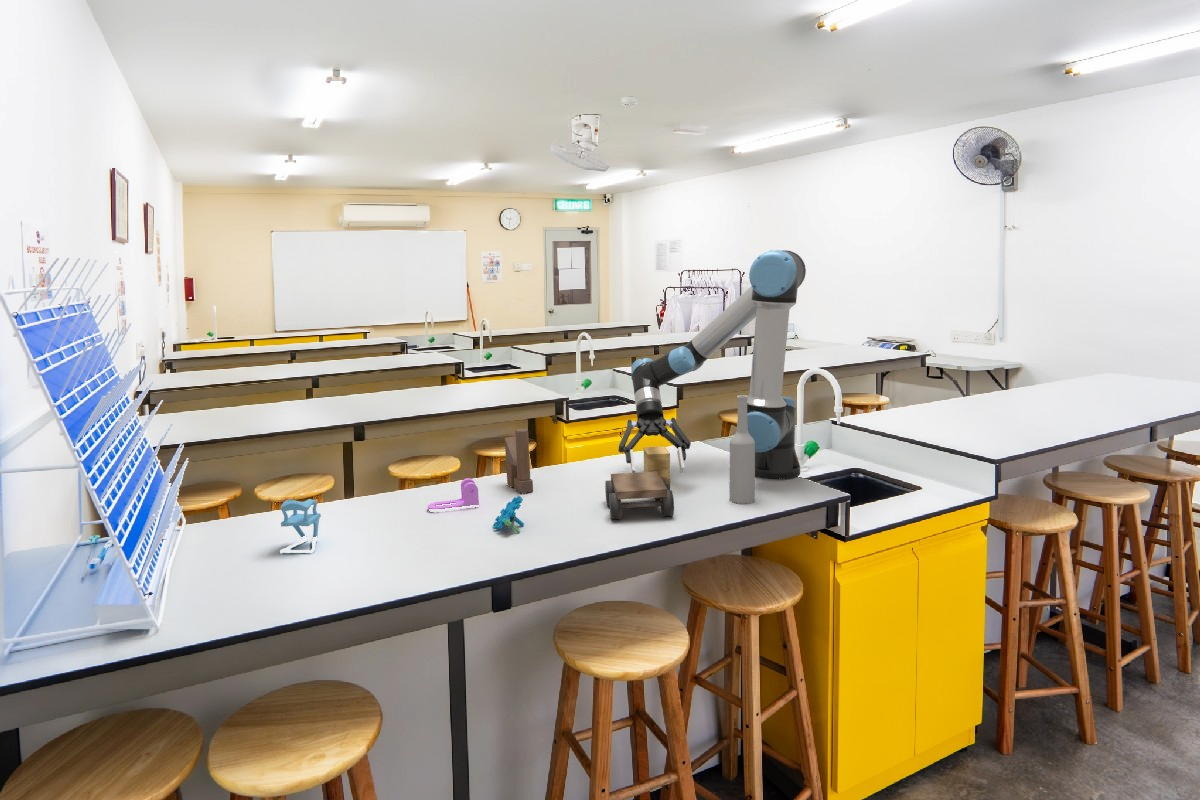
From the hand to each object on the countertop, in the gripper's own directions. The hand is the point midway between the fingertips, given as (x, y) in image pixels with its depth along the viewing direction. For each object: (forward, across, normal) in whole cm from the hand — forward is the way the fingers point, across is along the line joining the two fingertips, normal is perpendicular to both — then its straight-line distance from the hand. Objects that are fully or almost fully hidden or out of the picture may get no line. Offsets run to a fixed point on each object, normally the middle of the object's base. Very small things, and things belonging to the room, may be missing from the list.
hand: (658, 471), depth 200 cm
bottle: (+11, -21, +1) cm, 24 cm away
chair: (+22, +87, +12) cm, 91 cm away
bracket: (+6, +55, -4) cm, 56 cm away
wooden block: (-4, +38, -14) cm, 41 cm away
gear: (+19, +40, +9) cm, 45 cm away
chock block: (+3, 0, -6) cm, 7 cm away
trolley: (+13, +7, +3) cm, 15 cm away
